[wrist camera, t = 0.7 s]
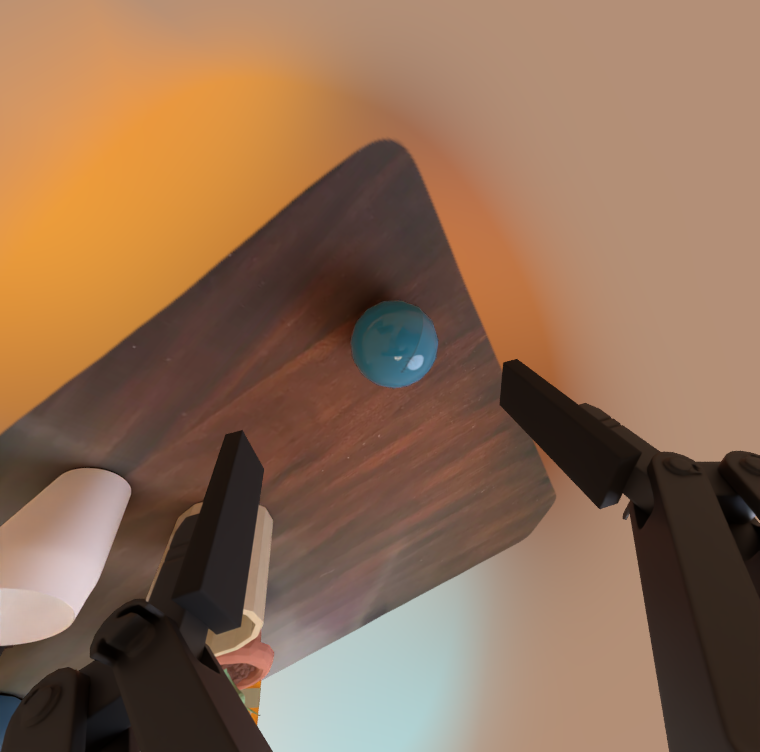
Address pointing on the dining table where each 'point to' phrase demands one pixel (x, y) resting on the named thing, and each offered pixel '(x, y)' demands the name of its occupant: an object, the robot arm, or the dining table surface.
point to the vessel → (1, 648)
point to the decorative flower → (247, 665)
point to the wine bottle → (6, 713)
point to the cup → (57, 552)
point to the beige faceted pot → (254, 591)
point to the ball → (394, 344)
